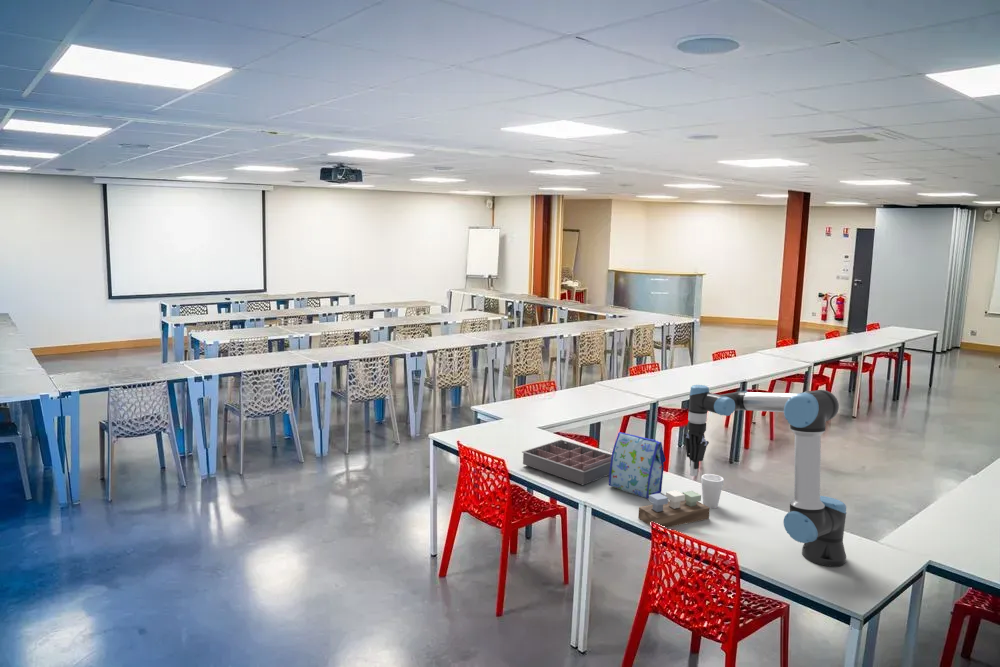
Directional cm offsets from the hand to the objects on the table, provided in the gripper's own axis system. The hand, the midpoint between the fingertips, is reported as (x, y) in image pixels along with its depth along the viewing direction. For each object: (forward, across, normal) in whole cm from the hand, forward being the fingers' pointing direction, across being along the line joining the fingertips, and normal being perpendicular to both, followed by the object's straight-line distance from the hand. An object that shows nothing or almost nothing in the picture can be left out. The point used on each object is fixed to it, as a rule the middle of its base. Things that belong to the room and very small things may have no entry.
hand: (693, 475), depth 290 cm
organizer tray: (+18, +68, +18) cm, 73 cm away
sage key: (+14, 0, 0) cm, 14 cm away
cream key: (+13, 0, +9) cm, 16 cm away
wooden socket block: (+18, 0, +9) cm, 20 cm away
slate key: (+13, 0, +18) cm, 22 cm away
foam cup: (+18, +5, -16) cm, 25 cm away
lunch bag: (+18, +33, +4) cm, 38 cm away
